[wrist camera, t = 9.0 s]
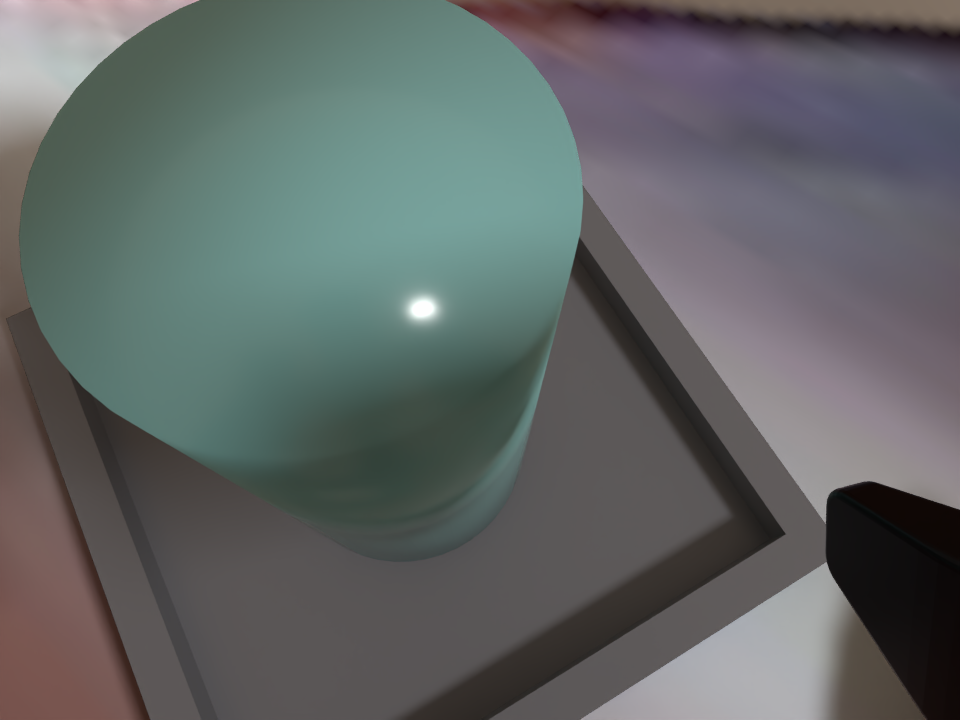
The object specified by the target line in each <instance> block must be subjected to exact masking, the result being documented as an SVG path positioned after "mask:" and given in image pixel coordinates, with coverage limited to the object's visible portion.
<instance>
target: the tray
mask: <svg viewBox="0 0 960 720" xmlns="http://www.w3.org/2000/svg"><path fill="white" fill-rule="evenodd" d="M582 188H583V209H582V221H581V232H580V236H579V240H578V244H577V249H576V253H575V257H574V261H573V265H572V269H571V273H570V277H569V281H568V285H567V289H566V292H565V296H564V300H563V304H562V308H561V312H560V316H559V320H558V324H557V327H556V331H555V335H554V339H553V343H552V347H551V351H550V355H549V359H548V362H547V366H546V370H545V374H544V378H543V382H542V386H541V390H540V393H539V397H538V401H537V405H536V409H535V413H534V417H533V421H532V425H531V428H530V432H529V436H528V440H527V444H526V448H525V452H524V456H523V460H522V463H521V467H520V471H519V475H518V478H517V481H516V483H515V486H514V488H513V491H512V493H511V495H510V496H509V498H508V500H507V502H506V504H505V505H504V507H503V508H502V509H501V511H500V512H499V513H498V515H497V516H496V518H495V519H494V520H493V521H492V522H491V523H490V524H489V525H488V526H487V527H486V528H485V529H484V530H483V531H482V532H480V533H479V534H478V535H477V536H475V537H474V538H473V539H472V540H470V541H468V542H467V543H465V544H463V545H462V546H460V547H458V548H456V549H454V550H452V551H449V552H447V553H445V554H443V555H439V556H436V557H432V558H429V559H424V560H417V561H411V562H392V561H384V560H377V559H373V558H369V557H365V556H362V555H359V554H357V553H355V552H352V551H350V550H348V549H346V548H344V547H342V546H341V545H339V544H337V543H335V542H334V541H332V540H330V539H329V538H327V537H325V536H324V535H322V534H320V533H318V532H317V531H315V530H313V529H312V528H310V527H308V526H306V525H305V524H303V523H301V522H300V521H298V520H296V519H294V518H293V517H291V516H289V515H288V514H286V513H284V512H282V511H281V510H279V509H277V508H276V507H274V506H272V505H271V504H269V503H267V502H265V501H264V500H262V499H260V498H259V497H257V496H255V495H253V494H252V493H250V492H248V491H247V490H245V489H243V488H241V487H240V486H238V485H236V484H235V483H233V482H231V481H229V480H228V479H226V478H224V477H223V476H221V475H219V474H218V473H216V472H214V471H212V470H211V469H209V468H207V467H206V466H204V465H202V464H200V463H199V462H197V461H195V460H194V459H192V458H190V457H188V456H187V455H185V454H183V453H182V452H180V451H178V450H177V449H175V448H173V447H171V446H170V445H168V444H166V443H165V442H163V441H161V440H159V439H158V438H156V437H154V436H153V435H151V434H149V433H147V432H146V431H144V430H142V429H141V428H139V427H137V426H136V425H134V424H132V423H131V422H129V421H127V420H126V419H124V418H122V417H121V416H119V415H117V414H116V413H114V412H113V411H111V410H110V409H108V408H107V407H106V406H105V405H104V404H102V403H101V402H100V401H99V400H98V399H96V398H95V397H94V396H93V395H92V394H90V393H89V392H88V391H87V390H86V389H84V388H83V387H82V386H81V385H80V383H79V382H78V381H77V380H76V379H75V378H74V377H73V375H72V374H71V373H70V372H69V371H68V370H67V368H66V367H65V366H64V365H63V364H62V363H61V362H60V360H59V359H58V357H57V356H56V354H55V352H54V351H53V349H52V348H51V346H50V344H49V343H48V341H47V340H46V338H45V336H44V335H43V333H42V332H41V329H40V327H39V324H38V322H37V320H36V317H35V315H34V312H33V310H32V307H31V308H29V309H27V310H24V311H22V312H20V313H18V314H16V315H13V316H11V317H9V318H7V319H6V320H7V323H8V326H9V328H10V331H11V334H12V337H13V340H14V342H15V345H16V348H17V351H18V353H19V356H20V359H21V362H22V365H23V367H24V370H25V373H26V376H27V378H28V381H29V384H30V387H31V390H32V392H33V395H34V398H35V401H36V403H37V406H38V409H39V412H40V415H41V417H42V420H43V423H44V426H45V428H46V431H47V434H48V437H49V440H50V442H51V445H52V448H53V451H54V453H55V456H56V459H57V462H58V465H59V467H60V470H61V473H62V476H63V478H64V481H65V484H66V487H67V490H68V492H69V495H70V498H71V501H72V503H73V506H74V509H75V512H76V515H77V517H78V520H79V523H80V526H81V528H82V531H83V534H84V537H85V540H86V542H87V545H88V548H89V551H90V553H91V556H92V559H93V562H94V565H95V567H96V570H97V573H98V576H99V578H100V581H101V584H102V587H103V590H104V592H105V595H106V598H107V601H108V603H109V606H110V609H111V612H112V614H113V617H114V620H115V623H116V626H117V628H118V631H119V634H120V637H121V639H122V642H123V645H124V648H125V651H126V653H127V656H128V659H129V662H130V664H131V667H132V670H133V673H134V676H135V678H136V681H137V684H138V687H139V689H140V692H141V695H142V698H143V701H144V703H145V706H146V709H147V712H148V714H149V717H150V720H580V719H581V718H583V717H584V716H586V715H588V714H589V713H591V712H592V711H594V710H595V709H597V708H598V707H600V706H602V705H603V704H605V703H606V702H608V701H609V700H611V699H613V698H614V697H616V696H617V695H619V694H620V693H622V692H624V691H625V690H627V689H628V688H630V687H631V686H633V685H634V684H636V683H638V682H639V681H641V680H642V679H644V678H645V677H647V676H649V675H650V674H652V673H653V672H655V671H656V670H658V669H659V668H661V667H663V666H664V665H666V664H667V663H669V662H670V661H672V660H674V659H675V658H677V657H678V656H680V655H681V654H683V653H685V652H686V651H688V650H689V649H691V648H692V647H694V646H695V645H697V644H699V643H700V642H702V641H703V640H705V639H706V638H708V637H710V636H711V635H713V634H714V633H716V632H717V631H719V630H721V629H722V628H724V627H725V626H727V625H728V624H730V623H731V622H733V621H735V620H736V619H738V618H739V617H741V616H742V615H744V614H746V613H747V612H749V611H750V610H752V609H753V608H755V607H756V606H758V605H760V604H761V603H763V602H764V601H766V600H767V599H769V598H771V597H772V596H774V595H775V594H777V593H778V592H780V591H782V590H783V589H785V588H786V587H788V586H789V585H791V584H792V583H794V582H796V581H797V580H799V579H800V578H802V577H803V576H805V575H807V574H808V573H810V572H811V571H813V570H814V569H816V568H817V567H819V566H821V565H822V564H824V563H825V562H827V560H826V553H825V547H826V524H825V523H824V521H823V520H822V518H821V517H820V516H819V514H818V513H817V511H816V510H815V509H814V507H813V506H812V504H811V503H810V502H809V500H808V499H807V498H806V496H805V495H804V493H803V492H802V491H801V489H800V488H799V486H798V485H797V484H796V482H795V481H794V479H793V478H792V477H791V475H790V474H789V472H788V471H787V470H786V468H785V467H784V465H783V464H782V463H781V461H780V460H779V458H778V457H777V456H776V454H775V453H774V451H773V450H772V449H771V447H770V446H769V444H768V443H767V442H766V440H765V439H764V438H763V436H762V435H761V433H760V432H759V431H758V429H757V428H756V426H755V425H754V424H753V422H752V421H751V419H750V418H749V417H748V415H747V414H746V412H745V411H744V410H743V408H742V407H741V405H740V404H739V403H738V401H737V400H736V398H735V397H734V396H733V394H732V393H731V391H730V390H729V389H728V387H727V386H726V385H725V383H724V382H723V380H722V379H721V378H720V376H719V375H718V373H717V372H716V371H715V369H714V368H713V366H712V365H711V364H710V362H709V361H708V359H707V358H706V357H705V355H704V354H703V352H702V351H701V350H700V348H699V347H698V345H697V344H696V343H695V341H694V340H693V338H692V337H691V336H690V334H689V333H688V331H687V330H686V329H685V327H684V326H683V325H682V323H681V322H680V320H679V319H678V318H677V316H676V315H675V313H674V312H673V311H672V309H671V308H670V306H669V305H668V304H667V302H666V301H665V299H664V298H663V297H662V295H661V294H660V292H659V291H658V290H657V288H656V287H655V285H654V284H653V283H652V281H651V280H650V278H649V277H648V276H647V274H646V273H645V272H644V270H643V269H642V267H641V266H640V265H639V263H638V262H637V260H636V259H635V258H634V256H633V255H632V253H631V252H630V251H629V249H628V248H627V246H626V245H625V244H624V242H623V241H622V239H621V238H620V237H619V235H618V234H617V232H616V231H615V230H614V228H613V227H612V225H611V224H610V223H609V221H608V220H607V218H606V217H605V216H604V214H603V213H602V212H601V210H600V209H599V207H598V206H597V205H596V203H595V202H594V200H593V199H592V198H591V196H590V195H589V193H588V192H587V191H586V189H585V188H584V186H583V185H582Z"/></svg>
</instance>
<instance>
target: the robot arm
mask: <svg viewBox="0 0 960 720" xmlns="http://www.w3.org/2000/svg"><path fill="white" fill-rule="evenodd" d="M825 553H826V560H827V564H828V567H829V570H830V572H831V574H832V576H833V578H834V580H835V581H836V583H837V584H838V586H839V588H840V589H841V591H842V592H843V594H844V595H845V597H846V598H847V600H848V601H849V603H850V605H851V606H852V608H853V609H854V611H855V612H856V614H857V615H858V617H859V618H860V620H861V622H862V623H863V625H864V626H865V628H866V629H867V631H868V632H869V634H870V635H871V637H872V639H873V640H874V642H875V643H876V645H877V646H878V648H879V649H880V651H881V652H882V654H883V656H884V657H885V659H886V660H887V662H888V663H889V665H890V666H891V668H892V669H893V671H894V673H895V674H896V676H897V677H898V679H899V680H900V682H901V683H902V685H903V686H904V688H905V690H906V691H907V692H908V694H909V695H910V697H911V698H912V700H913V701H914V703H915V704H916V706H917V707H918V709H919V710H920V711H921V713H922V714H923V716H924V717H925V718H926V720H960V510H959V509H956V508H953V507H950V506H946V505H943V504H940V503H937V502H934V501H931V500H928V499H925V498H922V497H919V496H916V495H913V494H910V493H907V492H904V491H900V490H897V489H894V488H891V487H888V486H885V485H882V484H879V483H875V482H870V481H867V482H861V483H857V484H853V485H849V486H846V487H842V488H838V489H835V490H834V491H832V492H831V493H830V495H829V497H828V499H827V507H826V547H825Z"/></svg>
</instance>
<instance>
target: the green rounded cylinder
mask: <svg viewBox="0 0 960 720" xmlns="http://www.w3.org/2000/svg"><path fill="white" fill-rule="evenodd" d="M582 209H583V188H582V173H581V166H580V161H579V157H578V152H577V148H576V143H575V139H574V136H573V134H572V131H571V128H570V126H569V123H568V121H567V118H566V116H565V113H564V110H563V109H562V107H561V105H560V103H559V102H558V100H557V98H556V96H555V95H554V93H553V91H552V89H551V88H550V86H549V84H548V83H547V82H546V80H545V79H544V78H543V76H542V75H541V74H540V73H539V71H538V70H537V69H536V67H535V66H534V65H533V64H532V62H531V61H530V60H529V59H528V58H527V57H526V56H525V55H524V54H523V53H522V52H521V51H520V50H519V49H518V48H517V47H516V46H515V45H514V44H513V43H512V42H511V41H510V40H509V39H507V38H506V37H505V36H503V35H502V34H501V33H499V32H498V31H497V30H495V29H494V28H493V27H491V26H490V25H489V24H488V23H486V22H485V21H483V20H481V19H480V18H478V17H476V16H474V15H473V14H471V13H469V12H468V11H466V10H464V9H462V8H461V7H459V6H457V5H454V4H452V3H450V2H448V1H445V0H199V1H197V2H195V3H192V4H190V5H187V6H185V7H183V8H180V9H178V10H177V11H175V12H173V13H171V14H169V15H167V16H165V17H164V18H162V19H160V20H158V21H156V22H154V23H153V24H151V25H149V26H148V27H146V28H145V29H144V30H142V31H141V32H139V33H138V34H136V35H135V36H133V37H132V38H130V39H129V40H127V41H126V42H124V43H123V44H122V45H121V46H120V47H119V48H117V49H116V50H115V51H114V52H113V53H111V54H110V55H109V56H108V57H107V58H106V59H104V60H103V61H102V62H101V63H100V64H99V65H98V66H97V67H96V68H95V69H94V70H93V71H92V72H91V73H90V74H89V75H88V76H87V77H86V79H85V80H84V81H83V82H82V83H81V84H80V85H79V86H78V87H77V88H76V90H75V91H74V92H73V94H72V95H71V96H70V98H69V99H68V100H67V102H66V103H65V104H64V106H63V107H62V109H61V110H60V111H59V113H58V114H57V116H56V117H55V119H54V121H53V123H52V125H51V126H50V128H49V130H48V132H47V133H46V135H45V137H44V139H43V141H42V142H41V145H40V147H39V150H38V152H37V155H36V157H35V160H34V162H33V165H32V168H31V170H30V173H29V177H28V181H27V185H26V189H25V193H24V197H23V201H22V208H21V219H20V231H19V243H20V258H21V270H22V274H23V278H24V283H25V287H26V291H27V296H28V300H29V303H30V305H31V307H32V310H33V312H34V315H35V317H36V320H37V322H38V324H39V327H40V329H41V332H42V333H43V335H44V336H45V338H46V340H47V341H48V343H49V344H50V346H51V348H52V349H53V351H54V352H55V354H56V356H57V357H58V359H59V360H60V362H61V363H62V364H63V365H64V366H65V367H66V368H67V370H68V371H69V372H70V373H71V374H72V375H73V377H74V378H75V379H76V380H77V381H78V382H79V383H80V385H81V386H82V387H83V388H84V389H86V390H87V391H88V392H89V393H90V394H92V395H93V396H94V397H95V398H96V399H98V400H99V401H100V402H101V403H102V404H104V405H105V406H106V407H107V408H108V409H110V410H111V411H113V412H114V413H116V414H117V415H119V416H121V417H122V418H124V419H126V420H127V421H129V422H131V423H132V424H134V425H136V426H137V427H139V428H141V429H142V430H144V431H146V432H147V433H149V434H151V435H153V436H154V437H156V438H158V439H159V440H161V441H163V442H165V443H166V444H168V445H170V446H171V447H173V448H175V449H177V450H178V451H180V452H182V453H183V454H185V455H187V456H188V457H190V458H192V459H194V460H195V461H197V462H199V463H200V464H202V465H204V466H206V467H207V468H209V469H211V470H212V471H214V472H216V473H218V474H219V475H221V476H223V477H224V478H226V479H228V480H229V481H231V482H233V483H235V484H236V485H238V486H240V487H241V488H243V489H245V490H247V491H248V492H250V493H252V494H253V495H255V496H257V497H259V498H260V499H262V500H264V501H265V502H267V503H269V504H271V505H272V506H274V507H276V508H277V509H279V510H281V511H282V512H284V513H286V514H288V515H289V516H291V517H293V518H294V519H296V520H298V521H300V522H301V523H303V524H305V525H306V526H308V527H310V528H312V529H313V530H315V531H317V532H318V533H320V534H322V535H324V536H325V537H327V538H329V539H330V540H332V541H334V542H335V543H337V544H339V545H341V546H342V547H344V548H346V549H348V550H350V551H352V552H355V553H357V554H359V555H362V556H365V557H369V558H373V559H377V560H384V561H392V562H411V561H417V560H424V559H429V558H432V557H436V556H439V555H443V554H445V553H447V552H449V551H452V550H454V549H456V548H458V547H460V546H462V545H463V544H465V543H467V542H468V541H470V540H472V539H473V538H474V537H475V536H477V535H478V534H479V533H480V532H482V531H483V530H484V529H485V528H486V527H487V526H488V525H489V524H490V523H491V522H492V521H493V520H494V519H495V518H496V516H497V515H498V513H499V512H500V511H501V509H502V508H503V507H504V505H505V504H506V502H507V500H508V498H509V496H510V495H511V493H512V491H513V488H514V486H515V483H516V481H517V478H518V475H519V471H520V467H521V463H522V460H523V456H524V452H525V448H526V444H527V440H528V436H529V432H530V428H531V425H532V421H533V417H534V413H535V409H536V405H537V401H538V397H539V393H540V390H541V386H542V382H543V378H544V374H545V370H546V366H547V362H548V359H549V355H550V351H551V347H552V343H553V339H554V335H555V331H556V327H557V324H558V320H559V316H560V312H561V308H562V304H563V300H564V296H565V292H566V289H567V285H568V281H569V277H570V273H571V269H572V265H573V261H574V257H575V253H576V249H577V244H578V240H579V236H580V232H581V221H582Z"/></svg>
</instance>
